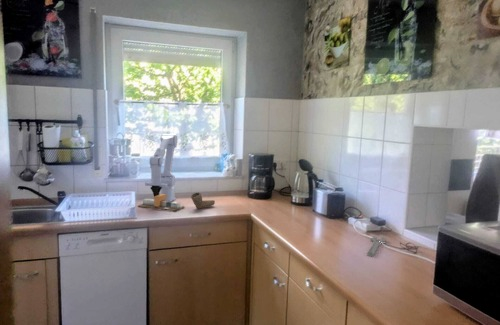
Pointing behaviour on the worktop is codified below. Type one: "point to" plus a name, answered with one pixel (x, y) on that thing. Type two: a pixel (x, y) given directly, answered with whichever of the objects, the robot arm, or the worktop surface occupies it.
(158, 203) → the collar
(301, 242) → the worktop surface
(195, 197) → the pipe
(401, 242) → the worktop surface
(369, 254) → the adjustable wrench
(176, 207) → the stand
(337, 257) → the worktop surface
